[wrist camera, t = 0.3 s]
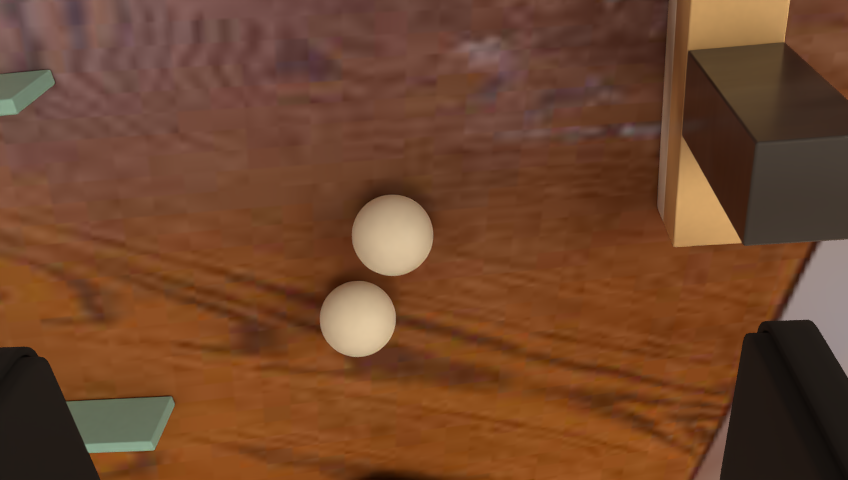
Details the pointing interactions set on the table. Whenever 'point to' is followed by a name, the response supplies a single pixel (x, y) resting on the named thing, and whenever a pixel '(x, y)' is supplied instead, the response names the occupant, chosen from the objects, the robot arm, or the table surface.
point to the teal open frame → (95, 419)
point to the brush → (747, 131)
